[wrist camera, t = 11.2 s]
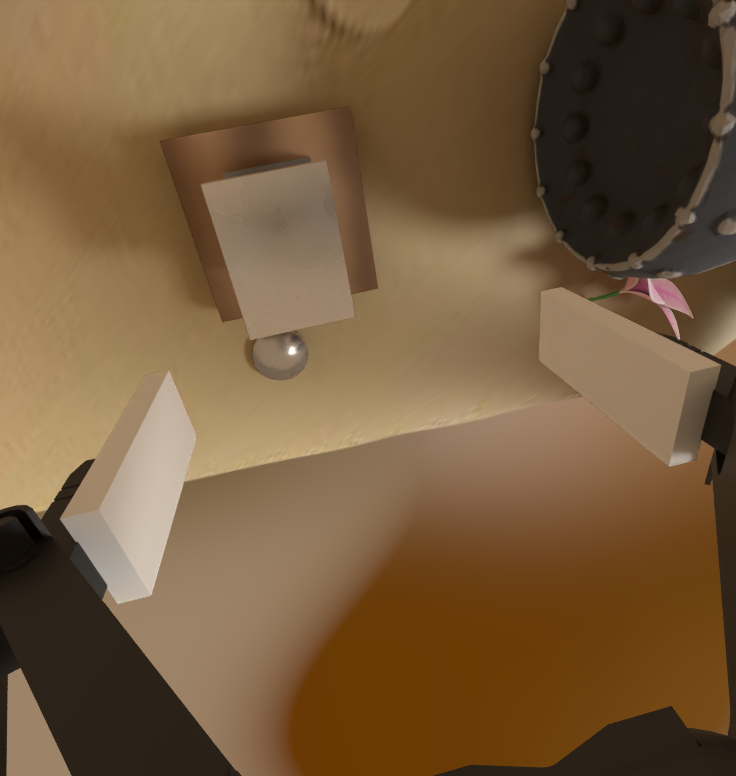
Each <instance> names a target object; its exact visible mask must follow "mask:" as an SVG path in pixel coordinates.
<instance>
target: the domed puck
mask: <svg viewBox="0 0 736 776" xmlns="http://www.w3.org/2000/svg"><path fill="white" fill-rule="evenodd" d="M252 358H253V363H254V365H255V367H256V368H257V370H258V371H259V372H260V373H261V374H263V375H264V376H266V377H268V378H270V379H274V380H287V379H290V378H293V377H295V376H296V375H298V374H299V373H300V372H301V371H302V370H303V369H304V367H305V365H306V363H307V359H308V352H307V346H306V343H305V342H304V340H303V338H302V337H301V336H300V335H299V334H298V333H296V332H295V331H290V332H285V333H281V334H276V335H272V336H267V337H263V338H258V339H256V341H255V343H254V345H253V350H252Z"/></svg>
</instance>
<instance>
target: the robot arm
mask: <svg viewBox="0 0 736 776" xmlns="http://www.w3.org/2000/svg"><path fill="white" fill-rule="evenodd" d="M539 361H540V362H541V363H542V364H544V365H545V366H546V367H547V368H549V369H550V370H551V371H552V372H554V373H555V374H556V375H557V376H558V377H560V378H561V379H562V380H563V381H565V382H566V383H567V384H568V385H569V386H571V387H572V388H573V389H574V390H576V391H577V392H578V393H579V394H581V395H582V396H583V397H584V398H585V399H587V400H588V401H589V402H590V403H592V404H593V405H594V406H595V407H597V408H598V409H599V410H600V411H601V412H603V413H604V414H605V415H606V416H608V417H609V418H610V419H611V420H612V421H614V422H615V423H616V424H617V425H619V426H620V427H621V428H622V429H624V430H625V431H626V432H627V433H628V434H630V435H631V436H632V437H633V438H635V439H636V440H637V441H638V442H639V443H641V444H642V445H643V446H644V447H646V448H647V449H648V450H649V451H651V452H652V453H653V454H655V456H657V457H658V458H659V459H660V460H662V461H663V462H664V463H665V464H667V465H668V466H673V465H677V464H681V463H686V462H689V461H693V460H696V459H697V456H698V452H699V448H700V445H701V441H702V440H703V441H704V442H706V443H708V444H709V445H710V446H712V447H713V448H714V452H713V456H712V459H711V463H710V466H709V470H708V474H707V478H706V481H705V484H707V485H710V483H711V481H712V480H713V493H714V506H715V517H716V530H717V544H718V557H719V569H720V583H721V595H722V608H723V621H724V634H725V645H726V646H725V647H726V659H727V672H728V685H729V697H730V725H729V730H728V736H726V735H723V734H719V733H716V732H712V731H707V730H701V729H694V728H687V727H686V726H685V724H684V723H683V721H682V720H681V719H680V717H679V716H678V714H677V713H676V711H675V710H674V709H673V707H672V706H670V707H667V708H663V709H660V710H656V711H653V712H649V713H646V714H643V715H639V716H636V717H633V718H629V719H625V720H622V721H619V722H615V723H612V724H608V725H607V726H606V727H604V728H603V729H602V730H600V731H599V732H598V733H596V734H595V735H594V736H592V737H591V738H590V739H588V740H587V741H586V742H584V743H583V744H582V745H580V746H579V747H578V748H576V749H575V750H574V751H572V752H571V753H570V754H568V755H567V756H566V757H564V758H563V759H562V760H560V761H559V762H558V763H556V764H555V765H553V766H550V767H545V768H537V767H511V766H484V765H469V766H465V767H462V768H458V769H455V770H452V771H448V772H445V773H442V774H438V775H435V776H736V366H734V365H731V364H729V363H727V362H725V361H723V360H721V359H718V358H717V357H714V356H712V355H710V354H708V353H706V352H701V350H700V349H698V348H696V347H694V346H689V344H687V343H685V342H683V341H681V340H679V339H677V338H675V337H671V336H667V335H663V334H659V333H655V332H653V331H651V330H649V329H647V328H645V327H642V326H640V325H638V324H636V323H634V322H632V321H630V320H628V319H626V318H624V317H622V316H620V315H618V314H616V313H614V312H612V311H610V310H608V309H606V308H604V307H601V306H599V305H597V304H595V303H593V302H591V301H589V300H587V299H585V298H583V297H581V296H579V295H577V294H575V293H573V292H571V291H569V290H567V289H565V288H563V287H559V288H555V289H550V290H545V291H541V313H540V340H539ZM196 439H197V436H196V434H195V431H194V429H193V426H192V424H191V422H190V419H189V417H188V415H187V412H186V410H185V407H184V405H183V403H182V400H181V398H180V396H179V393H178V391H177V388H176V386H175V384H174V381H173V379H172V377H171V374H170V372H169V370H167V371H163V372H158V373H153V374H149V375H145V377H144V379H143V380H142V382H141V384H140V385H139V387H138V389H137V390H136V392H135V394H134V395H133V397H132V399H131V400H130V402H129V404H128V405H127V407H126V409H125V410H124V412H123V414H122V415H121V417H120V419H119V420H118V422H117V424H116V426H115V427H114V429H113V431H112V432H111V434H110V436H109V437H108V439H107V441H106V442H105V444H104V446H103V447H102V449H101V451H100V452H99V454H98V456H97V457H96V459H92V460H87V461H85V462H84V463H83V464H82V465H80V466H79V467H78V468H77V469H76V470H75V471H74V472H73V473H71V474H70V476H69V477H68V479H67V480H66V482H65V483H64V485H63V487H62V488H61V489H62V491H59V493H58V494H57V496H56V497H55V499H54V502H52V504H51V505H50V507H49V508H48V510H47V511H46V513H45V514H44V516H43V518H42V519H41V520H40V518H39V517H38V516H37V514H36V513H35V511H34V510H33V509H32V508H31V507H29V506H27V505H17V506H12V507H9V508H5V509H2V510H0V776H6V761H7V759H6V758H7V756H6V755H7V690H8V688H7V686H8V674H9V673H11V672H13V671H15V670H17V669H19V668H21V669H22V672H23V674H24V676H25V678H26V680H27V682H28V684H29V686H30V689H31V691H32V693H33V695H34V697H35V699H36V701H37V703H38V705H39V707H40V710H41V712H42V714H43V716H44V718H45V720H46V722H47V724H48V727H49V729H50V731H51V733H52V735H53V737H54V739H55V741H56V743H57V746H58V748H59V750H60V752H61V754H62V756H63V758H64V760H65V762H66V765H67V767H68V769H69V771H70V773H71V775H72V776H241V775H240V773H239V772H238V771H236V770H235V769H234V768H233V767H232V765H231V764H230V763H229V762H228V760H227V759H226V758H225V757H224V755H223V754H222V753H221V752H220V750H219V749H218V748H217V746H216V745H215V744H214V743H213V741H212V740H211V739H210V738H209V736H208V735H207V734H206V732H205V731H204V730H203V729H202V727H201V726H200V725H199V723H198V722H197V721H196V720H195V718H194V717H193V716H192V714H191V713H190V712H189V711H188V710H187V708H186V707H185V705H184V704H183V703H182V702H181V700H180V699H179V698H178V697H177V695H176V694H175V693H174V691H173V690H172V689H171V688H170V686H169V685H168V684H167V683H166V681H165V680H164V679H163V677H162V676H161V675H160V674H159V672H158V671H157V670H156V668H155V667H154V666H153V665H152V663H151V662H150V661H149V660H148V659H147V657H146V656H145V654H144V653H143V652H142V651H141V649H140V648H139V647H138V645H137V644H136V643H135V642H134V640H133V639H132V638H131V636H130V635H129V634H128V633H127V631H126V630H125V629H124V628H123V626H122V625H121V624H120V622H119V621H118V620H117V619H116V617H115V616H114V615H113V613H112V612H111V611H110V610H109V608H108V607H107V606H106V604H105V603H104V602H103V601H102V599H103V596H104V594H105V591H106V589H108V590H109V592H110V593H111V595H112V596H113V598H114V599H115V600H116V602H117V603H118V604H119V603H123V602H128V601H131V600H136V599H140V598H144V597H148V596H151V594H152V590H153V587H154V584H155V580H156V577H157V574H158V570H159V567H160V563H161V560H162V556H163V552H164V549H165V546H166V542H167V539H168V536H169V532H170V529H171V525H172V522H173V518H174V515H175V511H176V508H177V504H178V501H179V497H180V494H181V491H182V487H183V484H184V480H185V477H186V473H187V470H188V466H189V463H190V459H191V456H192V452H193V449H194V446H195V442H196Z"/></svg>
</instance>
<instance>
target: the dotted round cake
mask: <svg viewBox="0 0 736 776" xmlns="http://www.w3.org/2000/svg"><path fill="white" fill-rule="evenodd" d="M540 73H541V79H540V84H539V89H538V97H537V104H536V112H535V123H534V127H533V129H532V131H531V133H530V134H531V138H532V140H533V141H534V150H535V166H536V173H537V179H538V188H537V196H538V197H539V198H540V199H541V200H542V202H543V205H544V209H545V212H546V214H547V216H548V218H549V220H550V222H551V225H552V227H553V229H554V231H555V233H556V234H555V240H556V241H557V242H558V243H560V244H563V245H564V246H565V247H566V248H567V249H568V250H569V251H570V252H571V253H572V254H573V255H574V256H575V257H576V258H578V259H579V260H580V261H582V262H584V263H585V264H586V266H587V268H588V269H590V270H591V271H592V270H601V271H604V272H605V273H606V274H607V275H608V276H609V277H611V278H614V279H618V280H620V279H624V278H628V277H634V278H650V279H656V278H663V279H671V278H676V277H683V276H689V275H696V274H698V273H701V272H704V271H707V270H711V269H714V268H717V267H719V266H722V265H725V264H728V263H731V262H734V261H736V0H566V8H565V10H564V13H563V15H562V17H561V19H560V21H559V23H558V25H557V27H556V29H555V32H554V35H553V38H552V41H551V44H550V47H549V49H548V52H547V55H546V57H545V58H544V60H543V61H542V62H541V63H540Z"/></svg>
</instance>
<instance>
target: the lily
mask: <svg viewBox="0 0 736 776" xmlns="http://www.w3.org/2000/svg"><path fill="white" fill-rule="evenodd" d="M621 293H632V294H635V295H638V296H641V297H643V298H646V299H648V300H650V301H652V302H653V303H655V304H656V305H658V306H659V307H660V308H661V309H662V310H663V312H664V313H665V315H666V317H667V318H668V320H669V322H670V324H671V326H672V328H673V330H674V332H675V334H676V336H677V338H678V339H679V340H680V334H679V329H678V326H677V322H676V319H675V317H674V314H673V312H672V311H671V310H670V308H672V309H675V310H678V311H680V312H683V313H685V314H687V315H689V316H690V317H691V318H692V319H694V318H693V315H692V313H691V310H690V308H689V306H688V304H687V302H686V300H685V299H684V297H683V295H682V294H681V292H680V291H679V290H678V288H677V287H676V286H675V285H674V284H673V283H672V282H670V281H669V280H668V279H663V278H656V279H650V278H634V277H628V280H627V283H626V285H625V287H624V288H623V289H622V290H619V291H617V292H614V293H611V294H607V295H604V296H599V297H595V298H590V299H587V300H589V301H595V300H599V299H604V298H608V297H611V296H615V295H618V294H621Z"/></svg>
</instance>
